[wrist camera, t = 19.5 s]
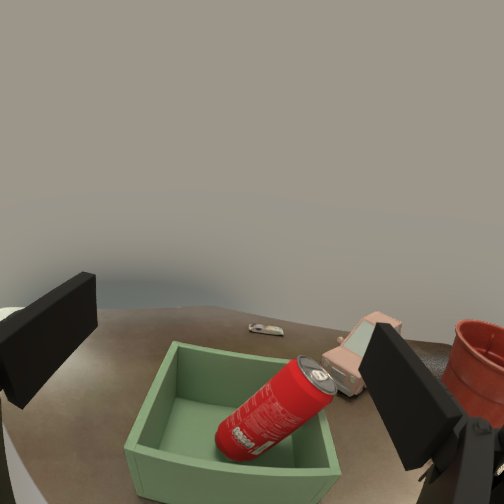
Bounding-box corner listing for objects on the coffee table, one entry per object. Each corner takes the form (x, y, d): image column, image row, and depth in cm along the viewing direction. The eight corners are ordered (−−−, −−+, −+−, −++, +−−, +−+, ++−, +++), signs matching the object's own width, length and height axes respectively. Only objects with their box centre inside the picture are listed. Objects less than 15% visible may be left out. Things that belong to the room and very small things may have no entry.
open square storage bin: (137, 495, 17) (123, 447, 15) (171, 397, 32) (172, 340, 30) (305, 516, 17) (341, 474, 15) (291, 414, 32) (311, 361, 30)
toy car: (307, 376, 41) (325, 321, 39) (356, 350, 51) (373, 304, 48) (352, 408, 34) (379, 352, 32) (395, 371, 44) (416, 324, 42)
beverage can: (202, 427, 24) (286, 351, 22) (236, 422, 28) (313, 354, 26) (227, 470, 20) (324, 399, 18) (260, 459, 24) (346, 393, 22)
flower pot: (439, 395, 36) (479, 312, 33) (500, 441, 22) (555, 355, 18) (382, 429, 30) (435, 328, 26) (457, 499, 15) (544, 397, 11)
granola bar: (282, 331, 55) (283, 326, 54) (283, 336, 52) (284, 332, 52) (248, 326, 54) (249, 321, 54) (248, 332, 52) (249, 327, 52)
